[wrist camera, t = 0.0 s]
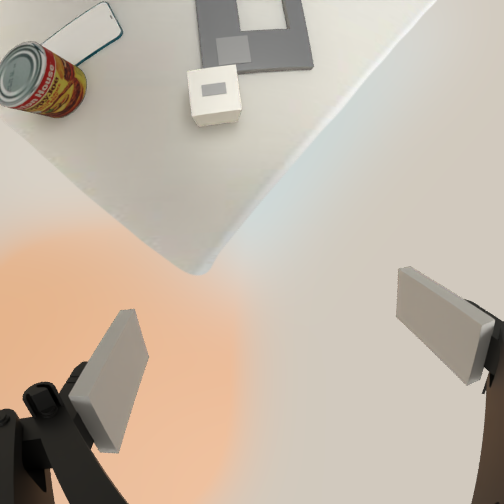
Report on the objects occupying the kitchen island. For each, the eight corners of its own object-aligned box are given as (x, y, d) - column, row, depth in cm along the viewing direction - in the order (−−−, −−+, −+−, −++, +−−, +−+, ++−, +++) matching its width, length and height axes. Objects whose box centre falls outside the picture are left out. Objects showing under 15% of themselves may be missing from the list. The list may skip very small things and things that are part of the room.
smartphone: (36, 100, 35) (125, 35, 34) (33, 99, 34) (124, 33, 33) (22, 63, 33) (107, 1, 32) (19, 62, 32) (105, -2, 31)
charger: (194, 90, 37) (186, 70, 28) (233, 85, 37) (236, 63, 29) (198, 127, 38) (191, 116, 30) (237, 121, 39) (241, 109, 30)
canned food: (54, 129, 36) (5, 122, 25) (33, 91, 34) (-15, 76, 23) (96, 92, 36) (55, 71, 24) (73, 55, 34) (32, 28, 22)
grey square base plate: (195, -7, 33) (194, -13, 31) (294, -13, 34) (297, -19, 32) (204, 78, 37) (203, 74, 35) (310, 69, 38) (314, 66, 36)
